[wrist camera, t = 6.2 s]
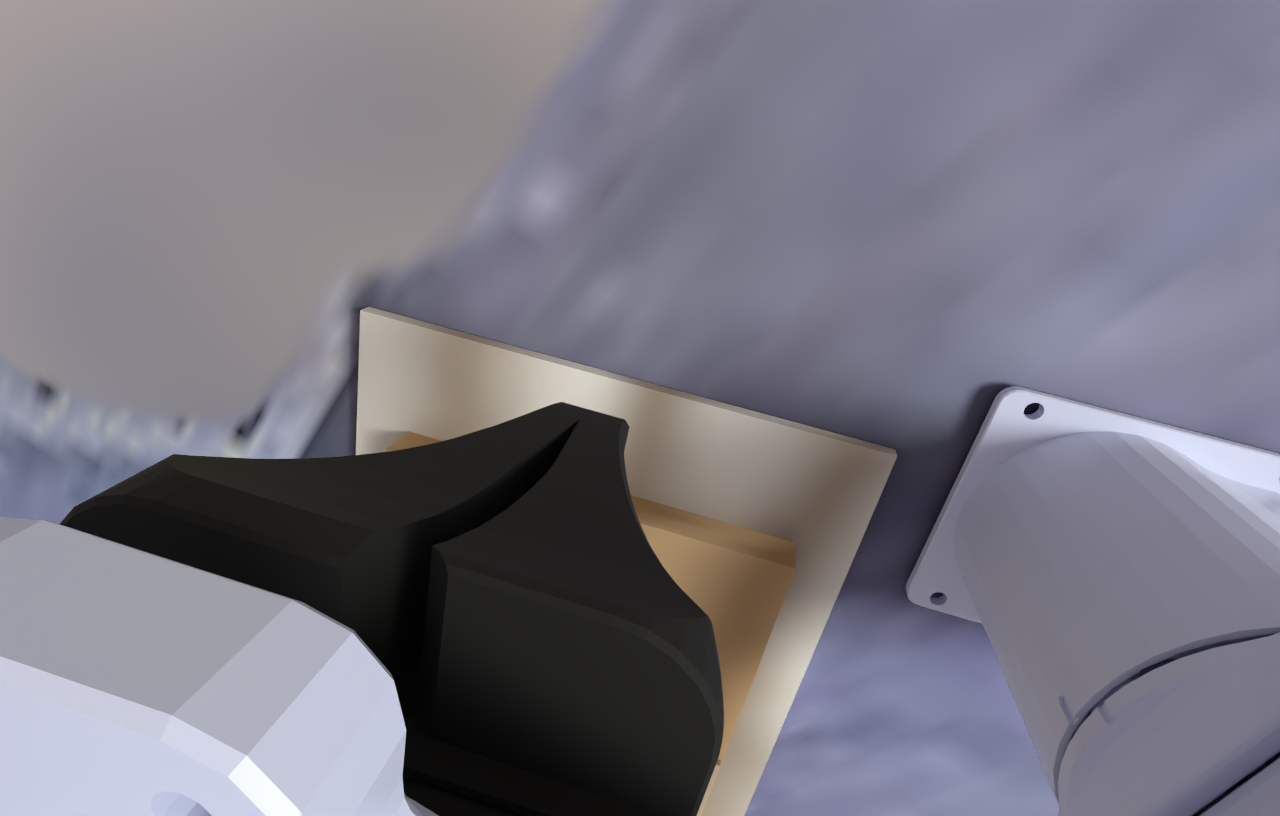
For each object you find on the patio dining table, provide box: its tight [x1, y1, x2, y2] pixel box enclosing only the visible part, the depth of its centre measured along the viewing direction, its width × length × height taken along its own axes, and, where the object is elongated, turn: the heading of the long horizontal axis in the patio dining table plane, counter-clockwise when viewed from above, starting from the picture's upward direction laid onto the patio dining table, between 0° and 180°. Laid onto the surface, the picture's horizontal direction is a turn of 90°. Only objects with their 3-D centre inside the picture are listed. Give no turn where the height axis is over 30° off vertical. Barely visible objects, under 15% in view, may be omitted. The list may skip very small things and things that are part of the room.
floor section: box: [356, 307, 897, 816], centre depth 25 cm, size 18×20×2 cm
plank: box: [386, 431, 796, 761], centre depth 24 cm, size 14×9×2 cm, turn 78°
